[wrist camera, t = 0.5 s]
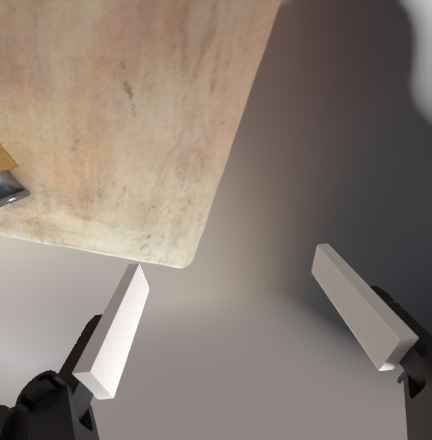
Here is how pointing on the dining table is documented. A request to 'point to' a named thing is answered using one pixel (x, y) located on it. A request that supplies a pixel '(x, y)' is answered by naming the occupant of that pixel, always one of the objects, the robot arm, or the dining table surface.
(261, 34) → the dining table surface
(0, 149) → the valve
